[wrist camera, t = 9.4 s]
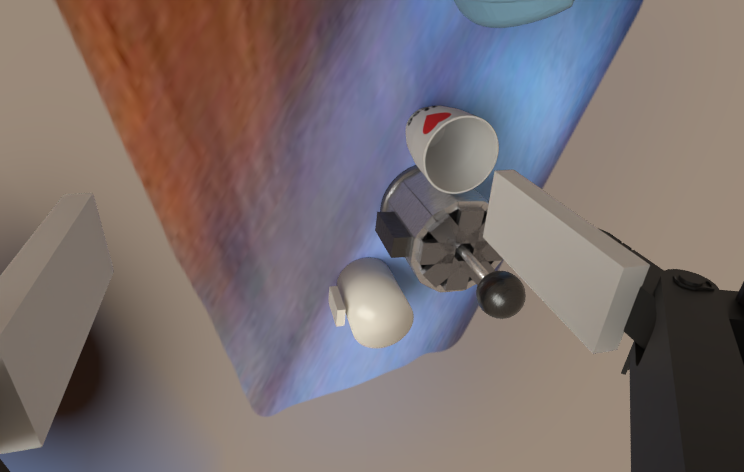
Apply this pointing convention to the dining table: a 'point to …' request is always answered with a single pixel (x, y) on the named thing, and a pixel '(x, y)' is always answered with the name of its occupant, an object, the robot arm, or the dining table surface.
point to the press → (435, 231)
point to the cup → (451, 147)
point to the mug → (371, 303)
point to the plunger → (492, 285)
